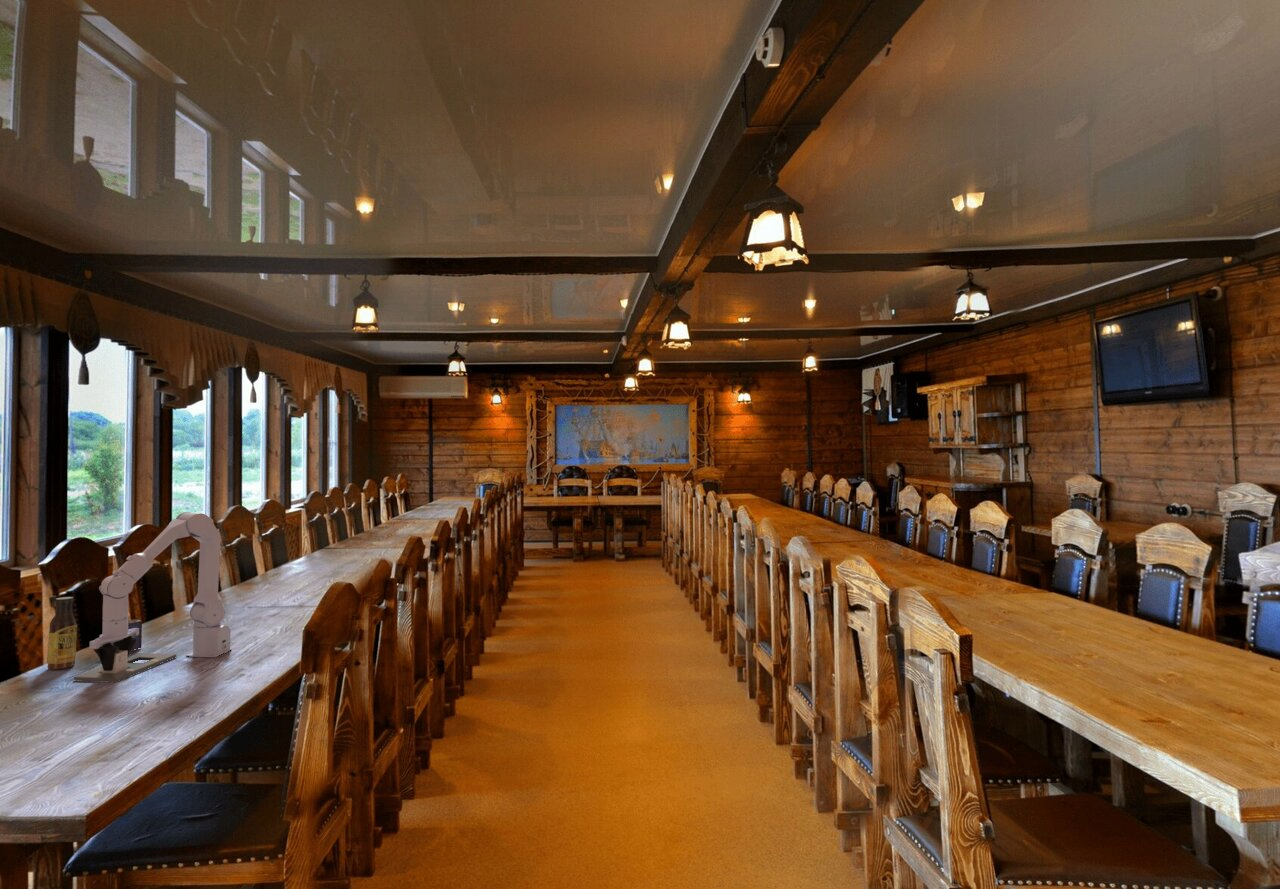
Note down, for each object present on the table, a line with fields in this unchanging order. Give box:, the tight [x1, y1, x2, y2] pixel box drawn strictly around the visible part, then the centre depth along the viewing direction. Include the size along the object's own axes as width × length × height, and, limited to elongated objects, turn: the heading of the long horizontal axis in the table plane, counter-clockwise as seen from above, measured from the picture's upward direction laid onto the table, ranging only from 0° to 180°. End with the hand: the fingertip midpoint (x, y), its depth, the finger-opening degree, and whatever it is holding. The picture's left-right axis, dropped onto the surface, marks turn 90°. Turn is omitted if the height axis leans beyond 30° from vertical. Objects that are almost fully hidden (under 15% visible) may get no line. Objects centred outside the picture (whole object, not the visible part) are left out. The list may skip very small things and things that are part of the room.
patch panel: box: [73, 652, 177, 683], centre depth 196 cm, size 12×22×1 cm, turn 176°
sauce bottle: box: [47, 596, 78, 671], centre depth 198 cm, size 7×6×20 cm
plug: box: [101, 646, 129, 673], centre depth 192 cm, size 5×4×7 cm
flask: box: [111, 619, 143, 651], centre depth 213 cm, size 9×3×11 cm, turn 146°
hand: (114, 667), depth 192 cm, fingers closed on plug, 4 cm apart
